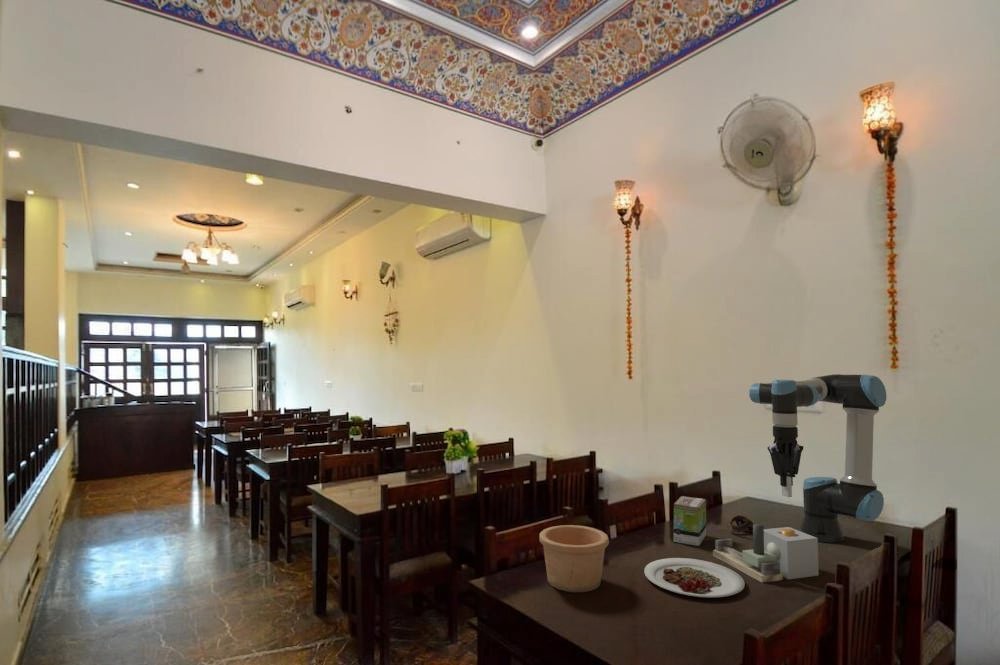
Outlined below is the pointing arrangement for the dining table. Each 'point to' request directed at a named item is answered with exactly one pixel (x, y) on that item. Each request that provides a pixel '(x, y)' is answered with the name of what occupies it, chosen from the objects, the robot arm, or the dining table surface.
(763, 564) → the rail board
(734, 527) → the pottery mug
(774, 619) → the dining table surface
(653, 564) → the plated food
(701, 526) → the tea box
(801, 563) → the grey cube box
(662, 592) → the dining table surface
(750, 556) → the carriage
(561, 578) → the pottery
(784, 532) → the plunger
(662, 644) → the dining table surface
